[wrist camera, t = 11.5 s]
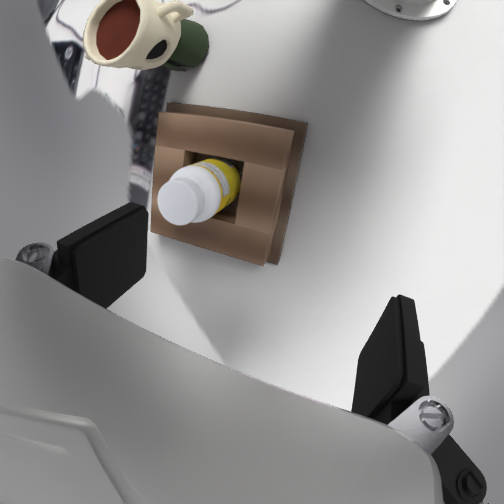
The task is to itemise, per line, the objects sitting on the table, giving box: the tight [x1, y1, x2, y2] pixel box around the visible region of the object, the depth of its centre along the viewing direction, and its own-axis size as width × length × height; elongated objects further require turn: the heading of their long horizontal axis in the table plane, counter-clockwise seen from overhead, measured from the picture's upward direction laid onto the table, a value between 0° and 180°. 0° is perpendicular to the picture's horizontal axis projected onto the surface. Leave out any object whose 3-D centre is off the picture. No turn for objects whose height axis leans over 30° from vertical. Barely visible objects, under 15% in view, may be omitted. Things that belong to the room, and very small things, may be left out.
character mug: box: [83, 0, 209, 71], centre depth 25 cm, size 11×7×13 cm, turn 104°
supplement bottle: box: [157, 157, 242, 225], centre depth 30 cm, size 5×5×10 cm
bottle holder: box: [151, 103, 308, 266], centre depth 34 cm, size 16×16×4 cm
